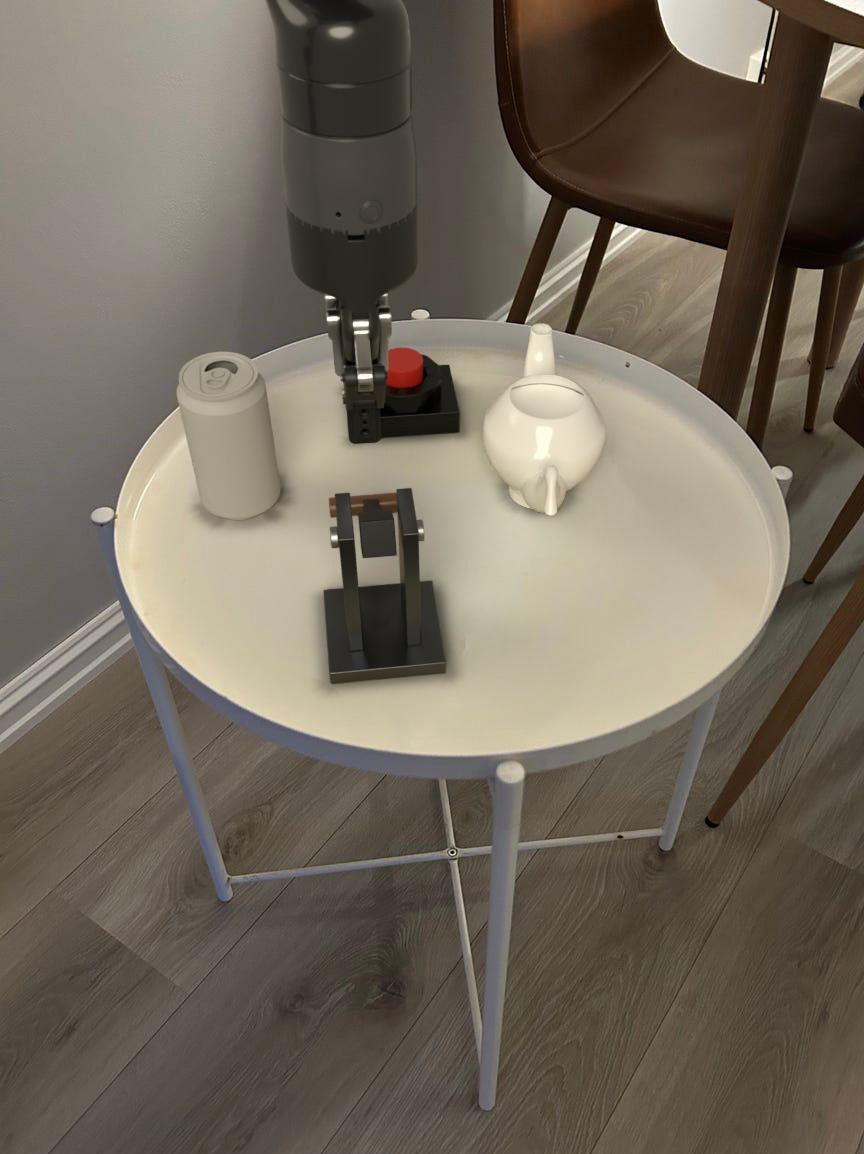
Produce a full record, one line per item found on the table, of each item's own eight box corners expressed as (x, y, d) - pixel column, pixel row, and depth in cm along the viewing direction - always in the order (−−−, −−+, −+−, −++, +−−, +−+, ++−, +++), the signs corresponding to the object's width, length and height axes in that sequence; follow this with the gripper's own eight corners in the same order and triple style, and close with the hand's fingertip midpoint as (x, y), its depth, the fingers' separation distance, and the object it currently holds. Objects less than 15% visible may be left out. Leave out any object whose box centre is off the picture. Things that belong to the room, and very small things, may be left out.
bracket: (324, 600, 79) (309, 476, 70) (432, 591, 80) (431, 467, 71) (330, 684, 74) (315, 562, 65) (445, 673, 75) (446, 551, 66)
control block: (354, 440, 91) (351, 401, 88) (349, 391, 96) (346, 352, 93) (459, 432, 92) (460, 394, 89) (449, 384, 97) (449, 346, 94)
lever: (330, 521, 78) (327, 489, 77) (412, 515, 79) (410, 483, 78) (332, 561, 68) (328, 524, 67) (426, 553, 69) (424, 516, 68)
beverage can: (289, 476, 88) (272, 350, 79) (271, 529, 84) (251, 403, 75) (213, 469, 88) (187, 343, 79) (191, 522, 84) (161, 395, 75)
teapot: (480, 576, 81) (484, 481, 74) (479, 414, 94) (482, 321, 87) (607, 578, 81) (622, 484, 74) (588, 416, 94) (599, 323, 87)
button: (383, 390, 90) (382, 373, 89) (379, 366, 92) (378, 348, 91) (425, 388, 90) (425, 370, 89) (421, 363, 93) (420, 346, 91)
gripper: (282, 143, 65) (306, 383, 78) (287, 254, 56) (314, 504, 69) (405, 140, 66) (409, 378, 79) (429, 248, 57) (429, 496, 70)
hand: (364, 436), depth 74 cm, fingers closed
